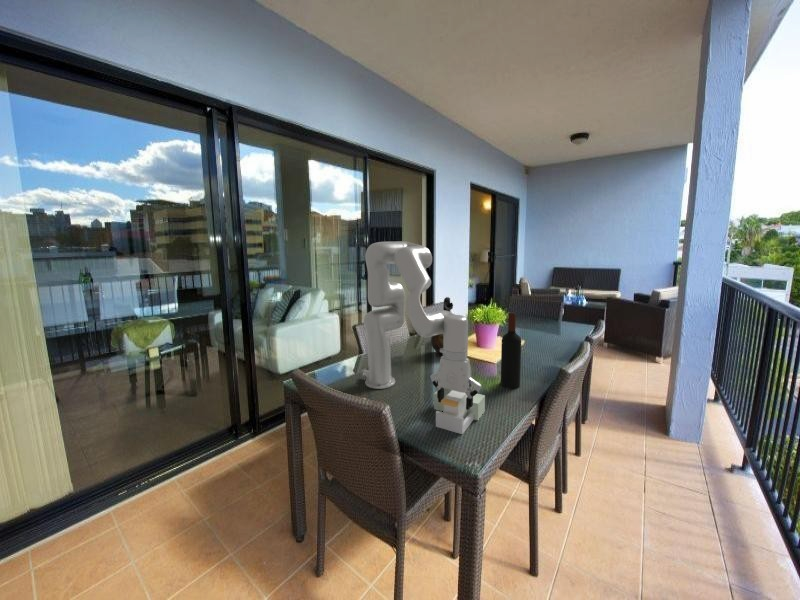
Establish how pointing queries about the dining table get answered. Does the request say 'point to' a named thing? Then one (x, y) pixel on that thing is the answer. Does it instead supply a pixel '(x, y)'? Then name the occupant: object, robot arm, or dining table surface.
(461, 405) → the orange-topped white box
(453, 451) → the dining table surface
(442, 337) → the ceramic jug
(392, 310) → the robot arm
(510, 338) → the wine bottle
